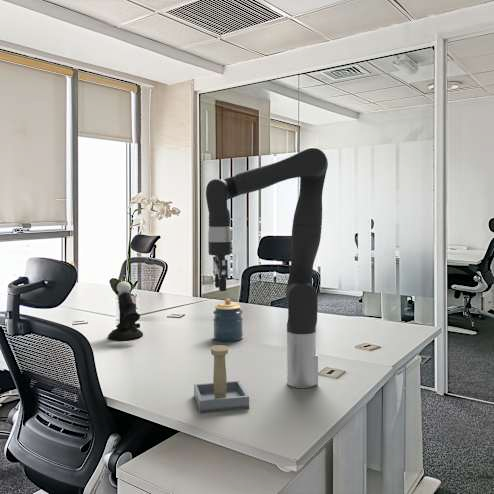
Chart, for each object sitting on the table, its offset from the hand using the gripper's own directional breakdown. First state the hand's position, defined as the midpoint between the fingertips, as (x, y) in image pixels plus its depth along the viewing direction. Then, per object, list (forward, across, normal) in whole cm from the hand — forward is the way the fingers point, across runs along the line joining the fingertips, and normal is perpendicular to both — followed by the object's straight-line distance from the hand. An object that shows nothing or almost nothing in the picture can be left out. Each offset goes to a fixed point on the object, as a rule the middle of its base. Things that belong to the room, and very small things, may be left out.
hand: (220, 289), depth 169 cm
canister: (+30, +52, -12) cm, 61 cm away
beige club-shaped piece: (+29, -21, +4) cm, 36 cm away
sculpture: (+30, +63, +31) cm, 77 cm away
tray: (+30, -21, +4) cm, 37 cm away
